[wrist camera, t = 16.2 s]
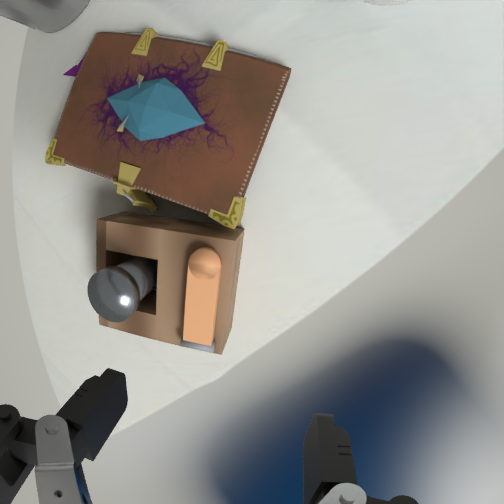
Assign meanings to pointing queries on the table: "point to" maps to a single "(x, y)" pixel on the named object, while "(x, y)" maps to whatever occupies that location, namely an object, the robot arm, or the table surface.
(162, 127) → the book
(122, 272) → the pin
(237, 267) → the block
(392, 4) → the showerhead
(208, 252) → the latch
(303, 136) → the table surface
